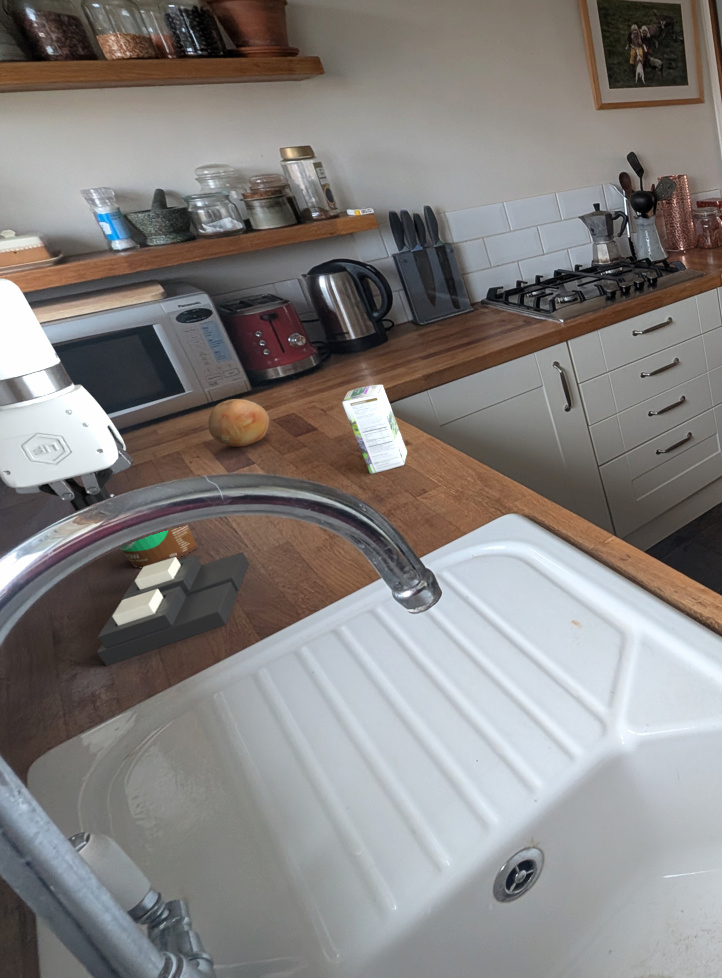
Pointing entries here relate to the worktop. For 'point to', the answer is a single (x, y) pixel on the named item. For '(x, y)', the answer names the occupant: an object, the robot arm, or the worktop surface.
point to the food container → (160, 546)
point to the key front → (138, 607)
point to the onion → (238, 422)
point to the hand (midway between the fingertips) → (103, 519)
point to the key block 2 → (167, 622)
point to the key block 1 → (200, 576)
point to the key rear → (158, 573)
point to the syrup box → (375, 428)
